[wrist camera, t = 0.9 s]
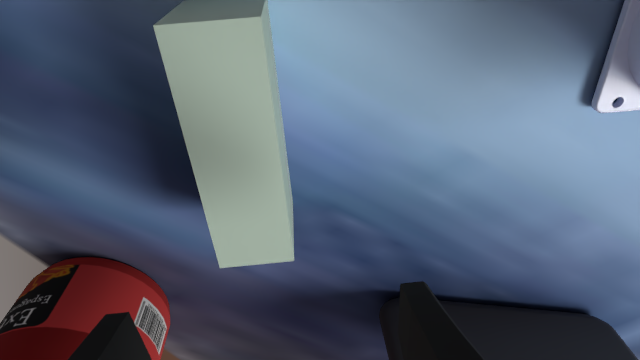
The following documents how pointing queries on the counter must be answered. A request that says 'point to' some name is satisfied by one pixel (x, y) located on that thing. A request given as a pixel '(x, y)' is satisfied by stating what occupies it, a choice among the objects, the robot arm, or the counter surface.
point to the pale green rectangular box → (232, 124)
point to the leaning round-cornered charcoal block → (520, 333)
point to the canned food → (81, 309)
